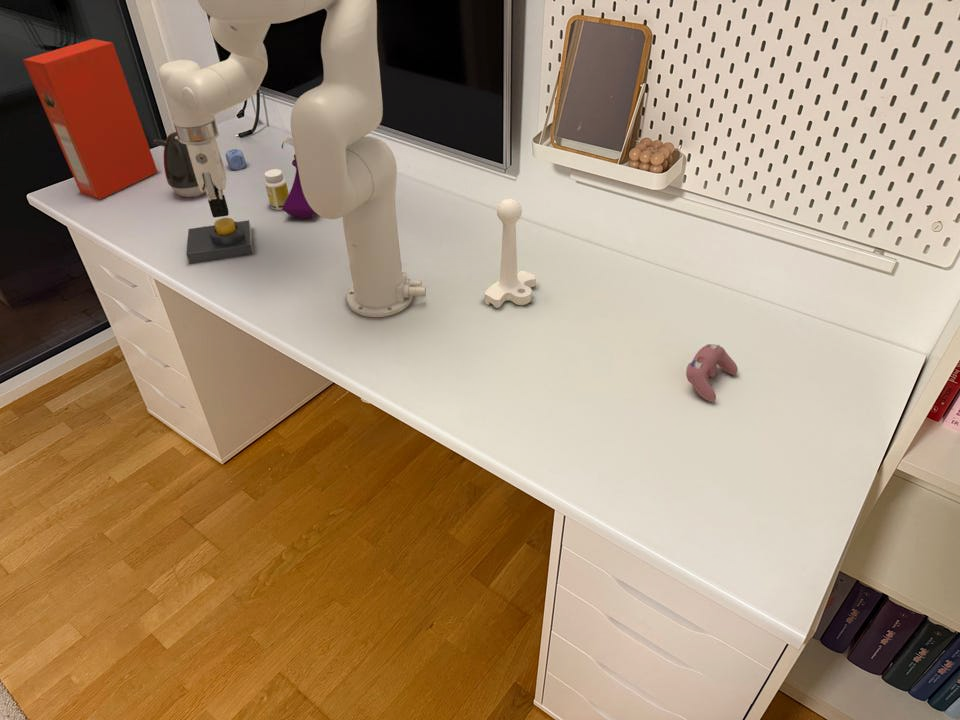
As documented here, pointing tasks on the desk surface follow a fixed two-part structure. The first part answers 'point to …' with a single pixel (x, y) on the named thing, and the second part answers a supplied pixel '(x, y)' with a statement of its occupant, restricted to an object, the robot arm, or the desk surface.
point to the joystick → (510, 262)
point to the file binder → (92, 116)
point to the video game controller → (708, 369)
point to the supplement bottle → (276, 188)
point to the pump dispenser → (179, 167)
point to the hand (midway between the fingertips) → (221, 214)
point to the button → (225, 226)
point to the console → (218, 243)
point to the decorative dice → (235, 159)
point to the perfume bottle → (297, 195)
